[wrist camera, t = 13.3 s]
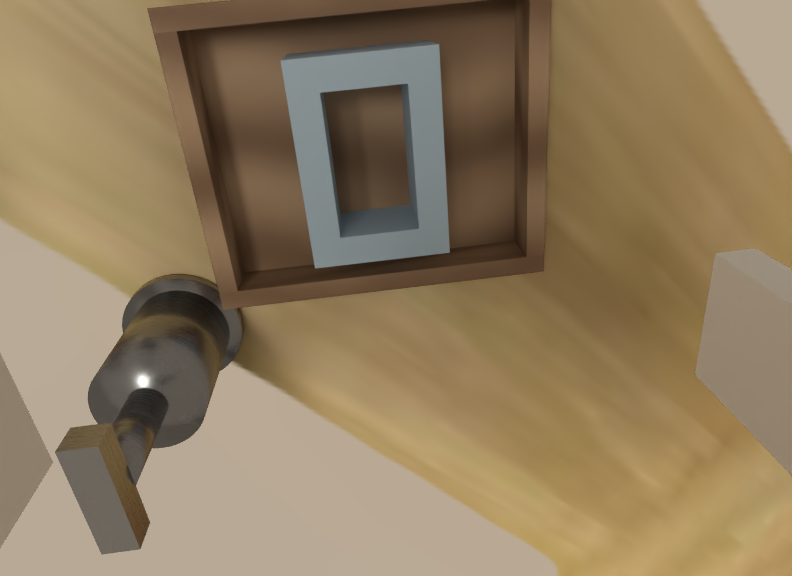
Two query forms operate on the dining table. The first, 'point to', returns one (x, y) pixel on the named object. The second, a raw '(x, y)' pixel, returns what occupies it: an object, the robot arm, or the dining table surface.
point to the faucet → (147, 400)
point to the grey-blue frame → (424, 138)
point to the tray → (358, 137)
